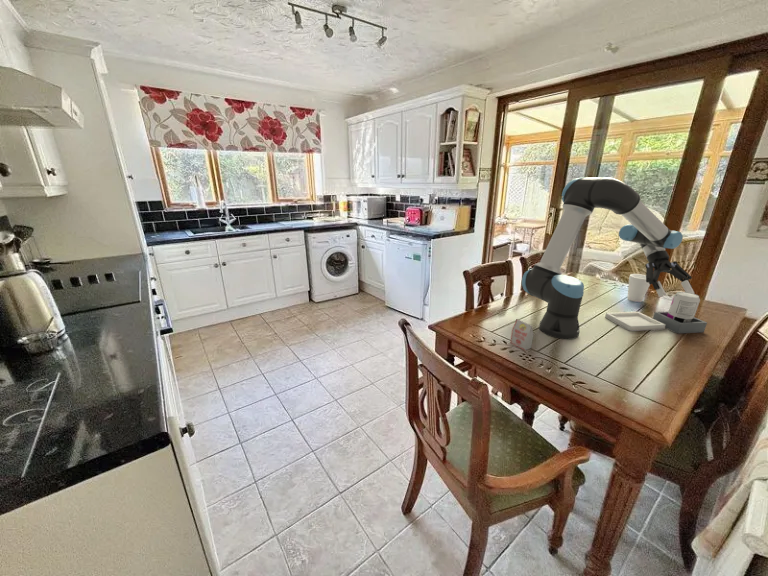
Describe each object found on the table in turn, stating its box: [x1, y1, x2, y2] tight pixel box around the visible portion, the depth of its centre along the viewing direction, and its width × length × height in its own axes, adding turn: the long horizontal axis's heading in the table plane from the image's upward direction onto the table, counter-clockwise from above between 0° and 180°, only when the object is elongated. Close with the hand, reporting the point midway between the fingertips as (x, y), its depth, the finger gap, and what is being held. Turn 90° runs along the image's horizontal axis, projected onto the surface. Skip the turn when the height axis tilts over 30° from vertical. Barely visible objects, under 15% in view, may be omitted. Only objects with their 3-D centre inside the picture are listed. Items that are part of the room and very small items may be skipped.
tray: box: [604, 311, 665, 332], centre depth 140 cm, size 16×14×2 cm
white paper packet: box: [509, 318, 534, 351], centre depth 121 cm, size 4×7×10 cm, turn 30°
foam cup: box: [626, 273, 651, 303], centre depth 165 cm, size 10×9×13 cm
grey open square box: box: [652, 310, 708, 334], centre depth 136 cm, size 12×12×4 cm
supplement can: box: [667, 291, 701, 323], centre depth 134 cm, size 8×8×15 cm
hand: (677, 295), depth 137 cm, fingers open, 13 cm apart
